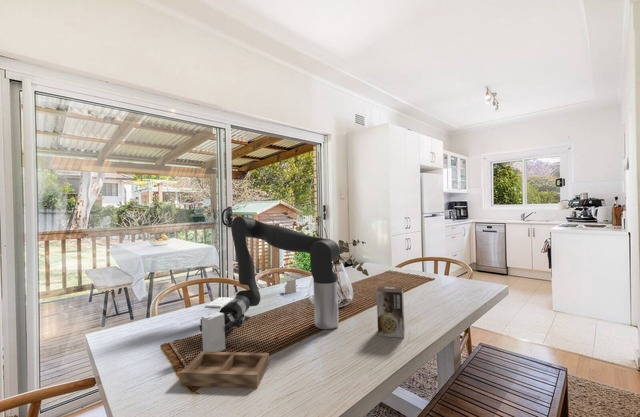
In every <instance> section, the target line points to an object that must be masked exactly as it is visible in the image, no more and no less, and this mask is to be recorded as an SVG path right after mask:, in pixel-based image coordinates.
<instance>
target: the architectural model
mask: <svg viewBox="0 0 640 417" xmlns="http://www.w3.org/2000/svg"><path fill="white" fill-rule="evenodd" d="M296 280H297V279H291V278H290V279H289V280H286V284H285V285H284V286H283V288H284V291H285V292H284V293H285V295H289V294H293V293H297V287H298V285H297V282H296Z"/></svg>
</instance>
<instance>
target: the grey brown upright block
mask: <svg viewBox="0 0 640 417" xmlns="http://www.w3.org/2000/svg"><path fill="white" fill-rule="evenodd" d="M375 294H376V315H377V316H376V317H377V336H378V337H379V336H380V337H390V338H398V339H399V338H400V339H404V338H405V333H406V330H405V306H404V287H401V286H400V287H399V286H398V287H397V286H381V285H379V286H378V287H377V289H376V292H375Z"/></svg>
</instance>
